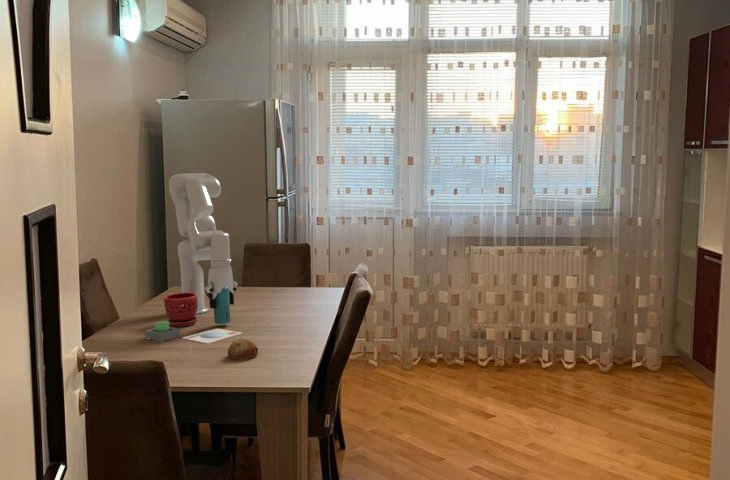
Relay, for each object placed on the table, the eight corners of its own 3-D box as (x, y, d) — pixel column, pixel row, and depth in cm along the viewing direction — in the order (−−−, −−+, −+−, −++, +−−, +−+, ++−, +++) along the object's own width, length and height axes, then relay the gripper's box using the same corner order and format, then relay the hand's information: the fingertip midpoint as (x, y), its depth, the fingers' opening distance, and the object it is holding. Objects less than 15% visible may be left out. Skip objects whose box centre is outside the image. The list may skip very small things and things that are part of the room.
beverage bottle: (227, 328, 296) (225, 278, 293) (211, 327, 297) (209, 277, 294) (233, 324, 302) (231, 275, 299) (217, 323, 303) (216, 274, 301)
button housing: (145, 338, 280) (144, 330, 280) (164, 333, 287) (163, 325, 287) (161, 341, 275) (160, 333, 274) (180, 336, 282) (179, 329, 282)
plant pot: (187, 319, 312) (186, 290, 310) (204, 324, 303) (203, 295, 301) (159, 324, 303) (157, 295, 301) (175, 329, 294) (174, 299, 292)
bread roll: (234, 363, 260) (224, 343, 259) (261, 350, 260) (251, 329, 259) (232, 371, 250) (221, 350, 249) (259, 357, 251) (249, 336, 249)
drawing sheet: (181, 338, 280) (181, 337, 279) (216, 328, 294) (216, 327, 294) (207, 343, 272) (207, 342, 272) (242, 333, 286) (242, 332, 286)
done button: (152, 333, 280) (152, 323, 280) (163, 330, 284) (163, 320, 284) (161, 335, 277) (161, 324, 277) (172, 332, 281) (171, 322, 281)
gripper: (229, 260, 305) (230, 301, 307) (197, 265, 291) (199, 309, 293) (242, 261, 301) (244, 303, 303) (211, 267, 287) (212, 311, 289)
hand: (222, 306), depth 298 cm, fingers open, 9 cm apart
